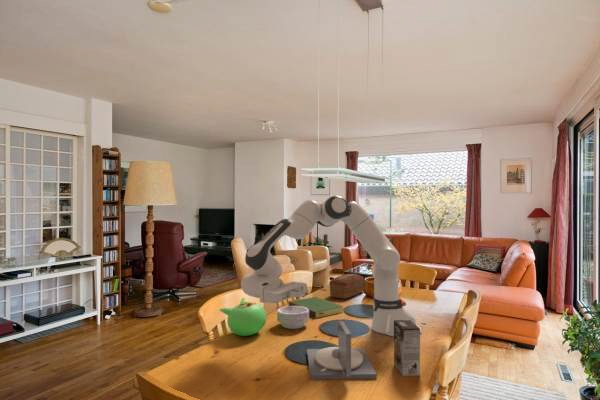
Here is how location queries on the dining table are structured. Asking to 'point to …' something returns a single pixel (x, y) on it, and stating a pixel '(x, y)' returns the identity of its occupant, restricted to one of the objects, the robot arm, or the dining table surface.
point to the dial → (340, 353)
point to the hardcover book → (317, 306)
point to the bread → (346, 286)
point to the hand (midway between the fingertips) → (302, 294)
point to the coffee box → (407, 347)
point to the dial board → (323, 373)
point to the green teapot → (245, 318)
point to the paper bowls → (293, 316)
